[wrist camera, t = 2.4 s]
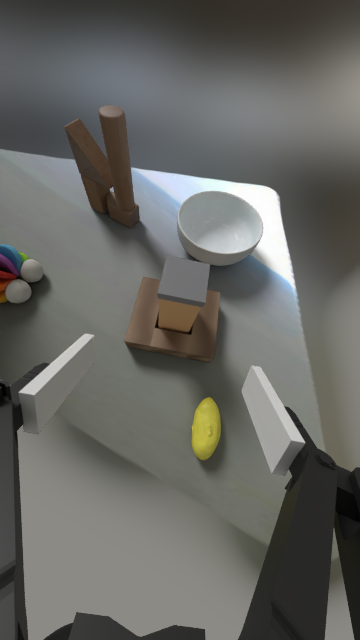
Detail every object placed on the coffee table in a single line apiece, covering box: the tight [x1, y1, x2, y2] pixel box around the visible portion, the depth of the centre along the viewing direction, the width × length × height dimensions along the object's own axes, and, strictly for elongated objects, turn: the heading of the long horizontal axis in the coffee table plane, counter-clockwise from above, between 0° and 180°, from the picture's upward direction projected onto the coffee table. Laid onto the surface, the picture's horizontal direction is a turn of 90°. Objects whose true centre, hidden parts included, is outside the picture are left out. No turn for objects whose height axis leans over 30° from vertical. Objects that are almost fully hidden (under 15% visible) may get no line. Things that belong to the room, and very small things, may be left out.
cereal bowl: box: [177, 191, 263, 266], centre depth 40 cm, size 17×17×7 cm
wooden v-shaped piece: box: [65, 105, 140, 228], centre depth 36 cm, size 4×11×18 cm, turn 61°
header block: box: [124, 277, 220, 362], centre depth 34 cm, size 14×12×4 cm
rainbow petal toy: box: [0, 244, 43, 303], centre depth 32 cm, size 8×10×7 cm
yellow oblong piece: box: [192, 397, 221, 460], centre depth 28 cm, size 4×8×4 cm, turn 165°
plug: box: [157, 255, 210, 334], centre depth 29 cm, size 5×5×14 cm
